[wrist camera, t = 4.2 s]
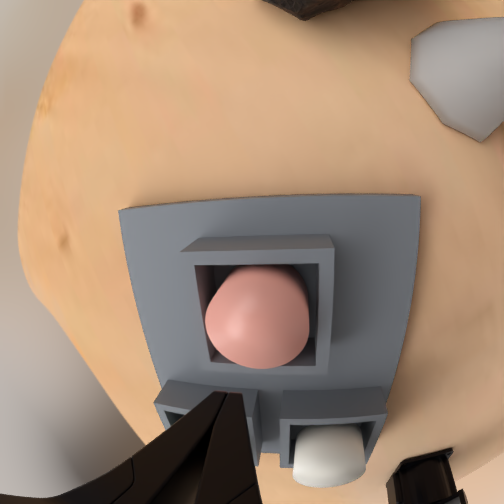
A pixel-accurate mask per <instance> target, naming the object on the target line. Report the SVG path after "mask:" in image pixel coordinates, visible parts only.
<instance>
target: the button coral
mask: <svg viewBox="0 0 504 504" xmlns="http://www.w3.org/2000/svg"><path fill="white" fill-rule="evenodd" d="M205 324H206V330H207V334H208V336H209V338H210V340H211V342H212V344H213V345H214V346H215V348H216V349H217V350H218V351H219V352H220V353H221V354H222V355H223V356H225V357H226V358H227V359H229V360H231V361H232V362H234V363H236V364H239V365H241V366H245V367H249V368H255V369H268V368H274V367H278V366H281V365H284V364H286V363H288V362H290V361H291V360H293V359H294V358H295V357H296V356H297V355H298V354H299V353H300V352H301V351H302V350H303V348H304V347H305V345H306V342H307V340H308V336H309V305H308V291H307V287H306V284H305V282H304V280H303V278H302V276H301V275H300V274H299V273H298V272H297V270H296V269H294V268H293V267H292V266H291V265H289V264H250V265H237V266H236V267H234V268H233V269H232V271H231V272H230V273H229V274H228V276H227V277H226V279H225V280H224V282H223V284H222V285H221V287H220V288H219V290H218V291H217V293H216V294H215V296H214V297H213V299H212V300H211V302H210V304H209V306H208V308H207V311H206V317H205Z"/></svg>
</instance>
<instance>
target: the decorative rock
mask: <svg viewBox="0 0 504 504" xmlns="http://www.w3.org/2000/svg"><path fill="white" fill-rule="evenodd" d="M263 1H265V2H268V3H270V4H272V5H274V6H277V7H279V8H281V9H283V10H284V11H286V12H288V13H290V14H291V15H293V16H295V17H297V18H298V19H299V20H303V21H306V20H309V19H310V18H311V17H314V16H316V15H318V14H320V13H322V12H326V11H330V10H334V9H337V8H340V7H343V6H345V5H347V4H348V3H350V2H351V1H354V0H263Z"/></svg>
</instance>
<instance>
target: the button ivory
mask: <svg viewBox="0 0 504 504" xmlns="http://www.w3.org/2000/svg"><path fill="white" fill-rule="evenodd" d="M365 470H366V464H365V455H364V447H363V439H362V432H361V429H360V427H359V426H358V425H356V424H355V423H347V424H328V425H309V426H307V427H305V428H303V429H302V430H301V431H300V432H299V433H298V435H297V437H296V445H295V457H294V467H293V478H294V480H295V481H296V482H298V483H300V484H302V485H305V486H310V487H320V488H323V487H334V486H340V485H343V484H347V483H349V482H352V481H354V480H356V479H358V478H359V477H360V476H362V475H363V474H364V472H365Z"/></svg>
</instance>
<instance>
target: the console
mask: <svg viewBox="0 0 504 504" xmlns="http://www.w3.org/2000/svg"><path fill="white" fill-rule="evenodd" d="M420 205H421V196H417V195H414V194H300V195H274V196H254V197H238V198H223V199H210V200H197V201H186V202H175V203H165V204H156V205H147V206H138V207H130V208H125V209H122V210H118V213H119V220H120V226H121V233H122V239H123V244H124V250H125V255H126V260H127V265H128V270H129V275H130V280H131V284H132V289H133V293H134V297H135V301H136V305H137V309H138V313H139V317H140V321H141V324H142V328H143V332H144V335H145V339H146V342H147V345H148V349H149V352H150V355H151V358H152V361H153V364H154V367H155V370H156V373H157V376H158V379H159V382H160V385H161V388H162V390H161V391H160V393H159V395H158V396H157V398H156V400H155V401H154V405H155V407H156V410H157V412H158V414H159V417H160V419H161V421H162V423H163V425H164V428H165V430H167V429H168V428H169V427H171V426H172V425H173V424H174V423H176V422H177V421H178V420H179V419H180V418H182V417H183V416H184V415H185V414H187V413H188V412H189V411H190V410H191V409H193V408H194V407H195V406H196V405H197V404H199V403H200V402H201V401H202V400H203V399H204V398H206V397H207V396H208V395H209V394H210V393H211V392H213V391H215V390H219V391H227V392H228V393H229V392H241V393H242V394H243V399H244V406H245V412H246V418H247V424H248V430H249V436H250V441H251V447H252V453H253V458H254V464H255V466H258V465H259V460H260V454H261V452H262V453H279V454H280V468H293V467H294V457H295V445H296V437H297V435H298V433H299V432H300V431H301V430H302V429H303V428H305V427H307V426H309V425H328V424H347V423H355V424H356V425H358V426H359V427H360V429H361V432H362V439H363V447H364V455H365V464H367V462H368V460H369V458H370V455H371V453H372V451H373V449H374V447H375V444H376V442H377V440H378V437H379V435H380V433H381V430H382V428H383V425H384V423H385V420H386V417H387V415H388V411H387V408H386V402H387V399H388V396H389V393H390V390H391V386H392V383H393V380H394V376H395V373H396V369H397V365H398V362H399V358H400V354H401V350H402V346H403V341H404V337H405V332H406V328H407V323H408V317H409V312H410V307H411V301H412V294H413V288H414V281H415V273H416V264H417V255H418V243H419V229H420ZM250 264H289V265H291V266H292V267H293V268H294V269H296V270H297V272H298V273H299V274H300V275H301V276H302V278H303V280H304V282H305V284H306V287H307V291H308V305H309V336H308V340H307V342H306V345H305V347H304V348H303V350H302V351H301V352H300V353H299V354H298V355H297V356H296V357H295V358H294V359H293V360H291V361H290V362H288V363H286V364H284V365H281V366H278V367H274V368H268V369H255V368H249V367H245V366H241V365H239V364H236V363H234V362H232V361H231V360H229V359H227V358H226V357H225V356H223V355H222V354H221V353H220V352H219V351H218V350H217V349H216V348H215V346H214V345H213V344H212V342H211V340H210V338H209V336H208V334H207V330H206V324H205V317H206V311H207V308H208V306H209V304H210V302H211V300H212V299H213V297H214V296H215V294H216V293H217V291H218V290H219V288H220V287H221V285H222V284H223V282H224V280H225V279H226V277H227V276H228V274H229V273H230V272H231V271H232V269H233V268H234V267H236V266H237V265H250Z"/></svg>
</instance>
